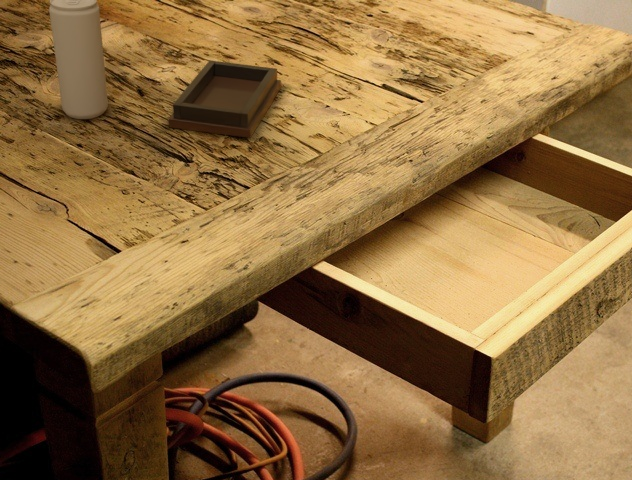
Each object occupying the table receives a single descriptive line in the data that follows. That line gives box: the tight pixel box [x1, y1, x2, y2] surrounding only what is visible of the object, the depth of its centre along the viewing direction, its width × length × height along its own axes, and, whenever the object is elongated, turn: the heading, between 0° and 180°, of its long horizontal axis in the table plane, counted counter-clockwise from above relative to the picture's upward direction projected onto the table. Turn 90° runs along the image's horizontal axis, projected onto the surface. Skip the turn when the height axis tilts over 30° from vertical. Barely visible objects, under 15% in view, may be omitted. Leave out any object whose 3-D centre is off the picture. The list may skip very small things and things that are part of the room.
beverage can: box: [48, 0, 109, 120], centre depth 96 cm, size 5×5×12 cm
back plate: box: [168, 60, 282, 139], centre depth 101 cm, size 14×9×2 cm, turn 170°
